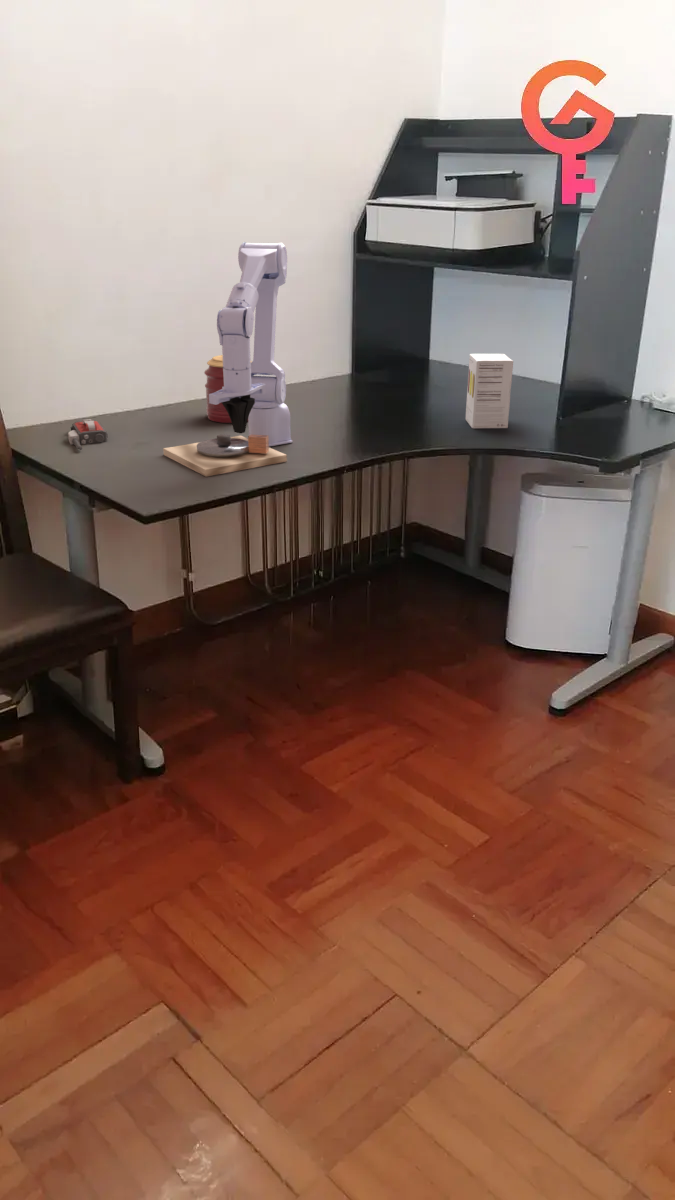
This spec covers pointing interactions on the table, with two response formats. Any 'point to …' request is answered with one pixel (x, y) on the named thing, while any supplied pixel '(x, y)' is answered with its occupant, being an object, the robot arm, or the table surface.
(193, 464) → the base plate
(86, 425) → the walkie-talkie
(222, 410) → the canister
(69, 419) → the table surface
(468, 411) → the supplement box
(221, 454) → the flange
